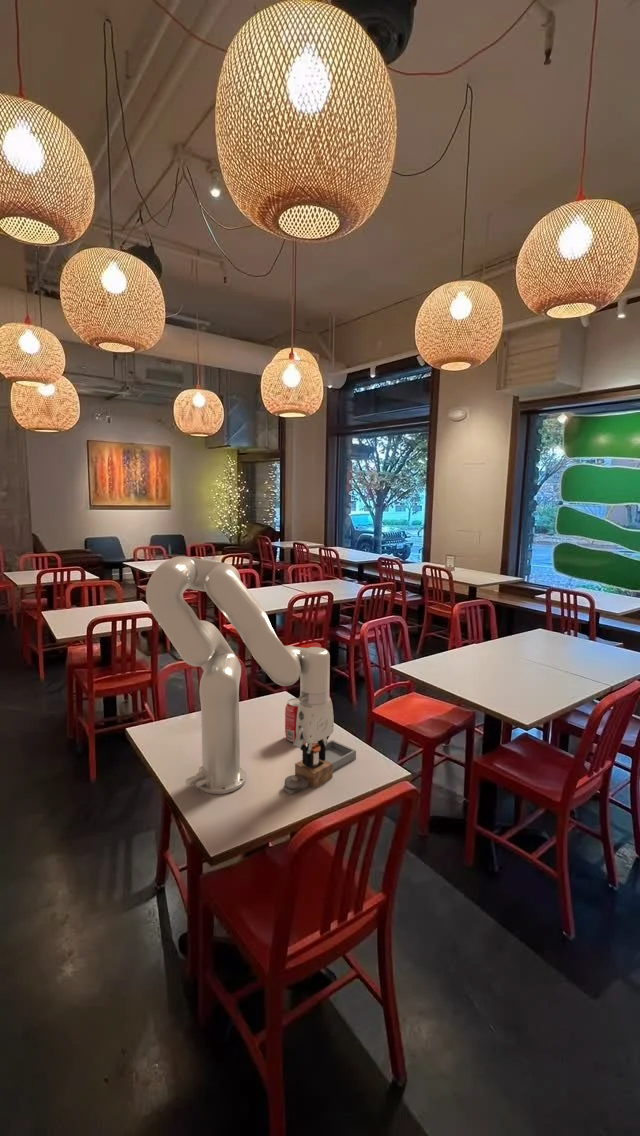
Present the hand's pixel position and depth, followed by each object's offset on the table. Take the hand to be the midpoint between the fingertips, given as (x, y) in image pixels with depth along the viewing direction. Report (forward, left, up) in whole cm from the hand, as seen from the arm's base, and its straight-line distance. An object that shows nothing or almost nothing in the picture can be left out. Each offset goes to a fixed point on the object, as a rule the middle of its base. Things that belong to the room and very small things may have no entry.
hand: (313, 761), depth 133 cm
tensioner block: (-3, 0, -5) cm, 5 cm away
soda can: (+12, +19, -5) cm, 23 cm away
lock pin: (0, 0, -5) cm, 5 cm away
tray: (+10, +3, -5) cm, 11 cm away
